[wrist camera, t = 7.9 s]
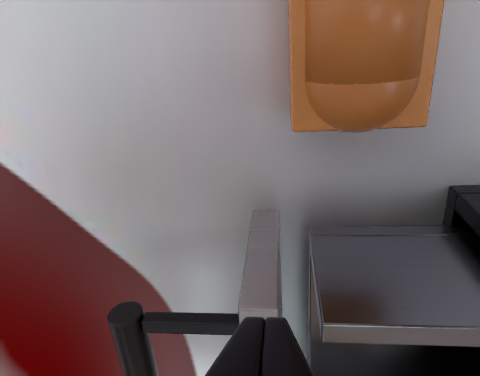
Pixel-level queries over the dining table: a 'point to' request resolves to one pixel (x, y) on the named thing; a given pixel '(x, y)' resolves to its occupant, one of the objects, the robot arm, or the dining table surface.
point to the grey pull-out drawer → (347, 301)
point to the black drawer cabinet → (463, 207)
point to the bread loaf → (362, 63)
